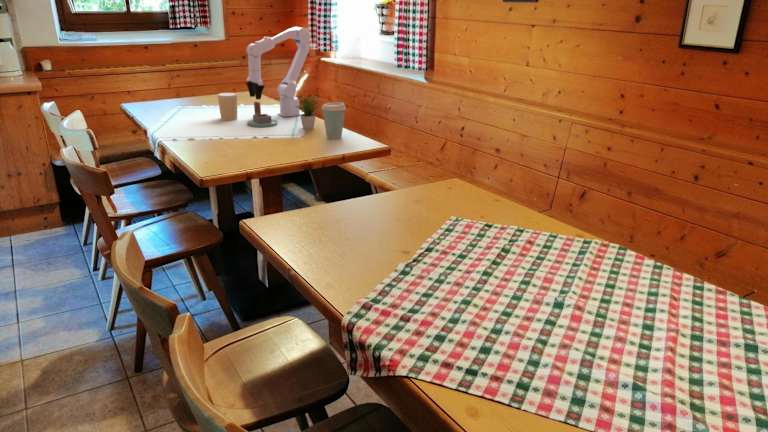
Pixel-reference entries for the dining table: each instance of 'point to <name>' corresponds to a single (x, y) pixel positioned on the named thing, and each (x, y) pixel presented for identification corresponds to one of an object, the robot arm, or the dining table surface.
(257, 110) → the walnut peg
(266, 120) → the candle dish
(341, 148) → the dining table surface
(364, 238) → the dining table surface
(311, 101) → the house plant
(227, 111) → the coffee cup
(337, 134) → the disposable coffee cup
